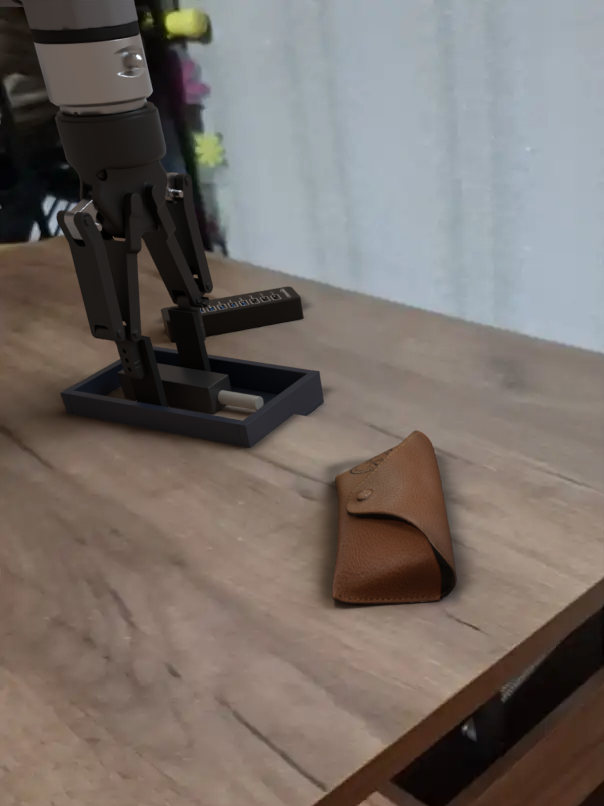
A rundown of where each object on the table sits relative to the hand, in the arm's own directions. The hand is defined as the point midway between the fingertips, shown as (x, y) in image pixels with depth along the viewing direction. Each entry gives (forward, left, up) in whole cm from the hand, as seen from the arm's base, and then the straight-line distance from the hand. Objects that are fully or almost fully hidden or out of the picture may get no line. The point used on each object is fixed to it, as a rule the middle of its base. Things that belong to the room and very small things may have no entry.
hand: (176, 393), depth 86 cm
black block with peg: (+2, 0, -1) cm, 2 cm away
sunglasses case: (+28, -12, -2) cm, 31 cm away
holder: (+2, 0, -2) cm, 3 cm away
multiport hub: (-8, +20, -2) cm, 22 cm away
